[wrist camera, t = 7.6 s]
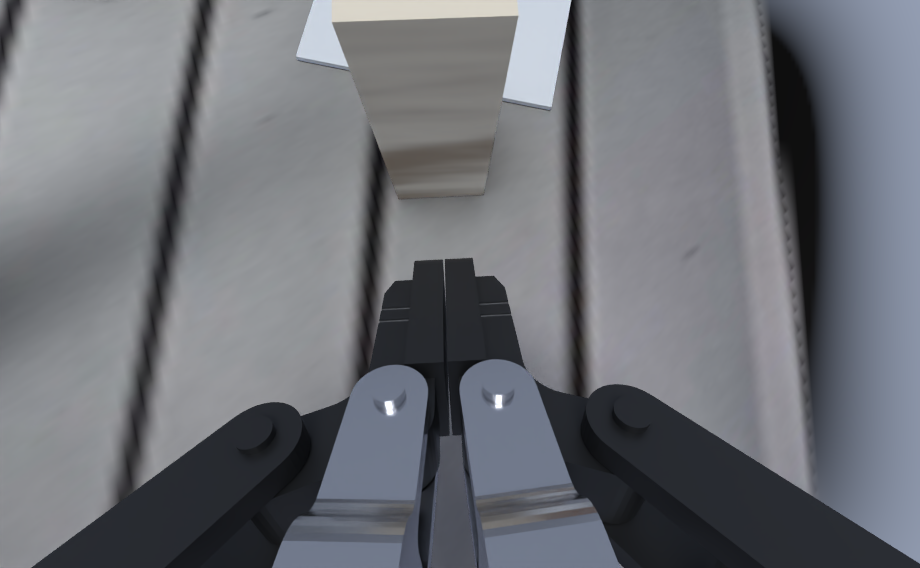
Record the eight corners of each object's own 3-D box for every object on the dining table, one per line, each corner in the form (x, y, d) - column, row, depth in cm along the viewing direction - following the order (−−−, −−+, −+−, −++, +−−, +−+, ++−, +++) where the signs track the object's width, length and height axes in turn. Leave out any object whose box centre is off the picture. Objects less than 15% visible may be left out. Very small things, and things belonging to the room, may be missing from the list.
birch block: (483, 195, 22) (518, 15, 10) (398, 199, 22) (331, 22, 10) (478, 117, 23) (504, -134, 11) (396, 121, 22) (331, -129, 11)
